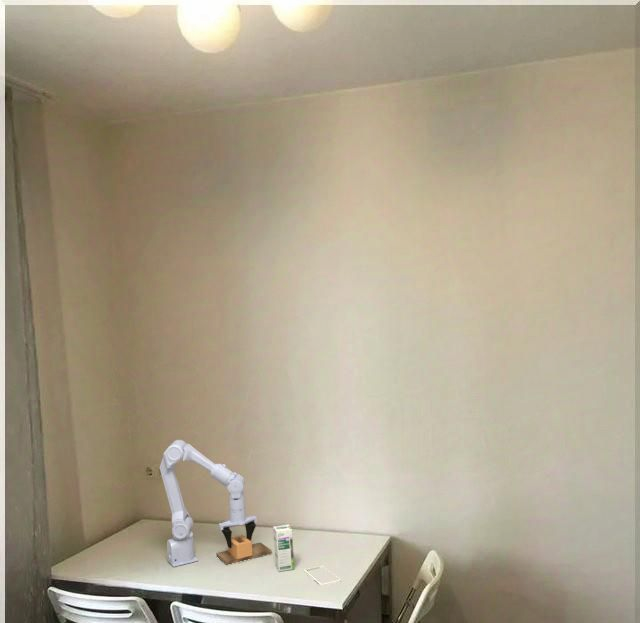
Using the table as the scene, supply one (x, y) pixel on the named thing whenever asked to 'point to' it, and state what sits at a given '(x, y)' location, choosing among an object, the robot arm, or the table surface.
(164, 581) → the table surface
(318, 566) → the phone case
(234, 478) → the robot arm
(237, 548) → the collar
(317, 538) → the table surface
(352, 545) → the table surface
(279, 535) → the syrup box
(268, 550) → the brown piece
